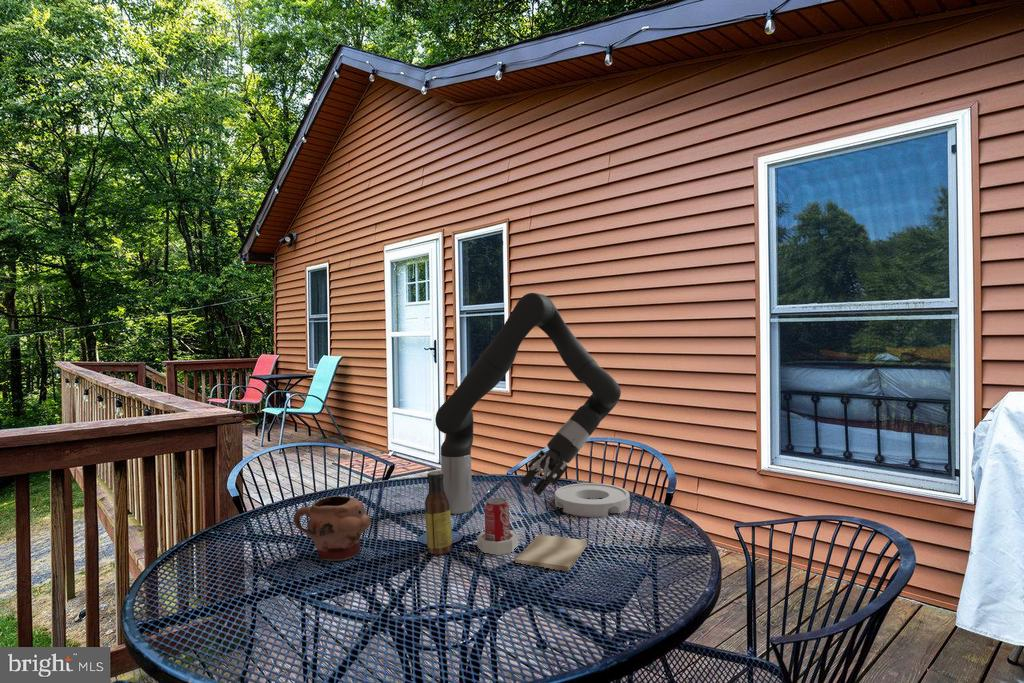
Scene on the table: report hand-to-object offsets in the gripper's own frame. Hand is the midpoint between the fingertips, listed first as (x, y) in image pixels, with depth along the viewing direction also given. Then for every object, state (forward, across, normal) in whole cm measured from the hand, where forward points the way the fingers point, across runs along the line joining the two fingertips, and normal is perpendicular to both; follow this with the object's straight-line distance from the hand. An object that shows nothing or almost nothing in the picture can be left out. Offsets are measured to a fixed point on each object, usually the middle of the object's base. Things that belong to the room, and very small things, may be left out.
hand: (529, 488), depth 149 cm
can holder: (+16, 0, +4) cm, 17 cm away
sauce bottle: (+26, -4, -6) cm, 27 cm away
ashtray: (-11, -22, +31) cm, 40 cm away
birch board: (+8, +9, +11) cm, 17 cm away
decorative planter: (+44, -12, -24) cm, 52 cm away
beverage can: (+16, 0, +4) cm, 17 cm away
